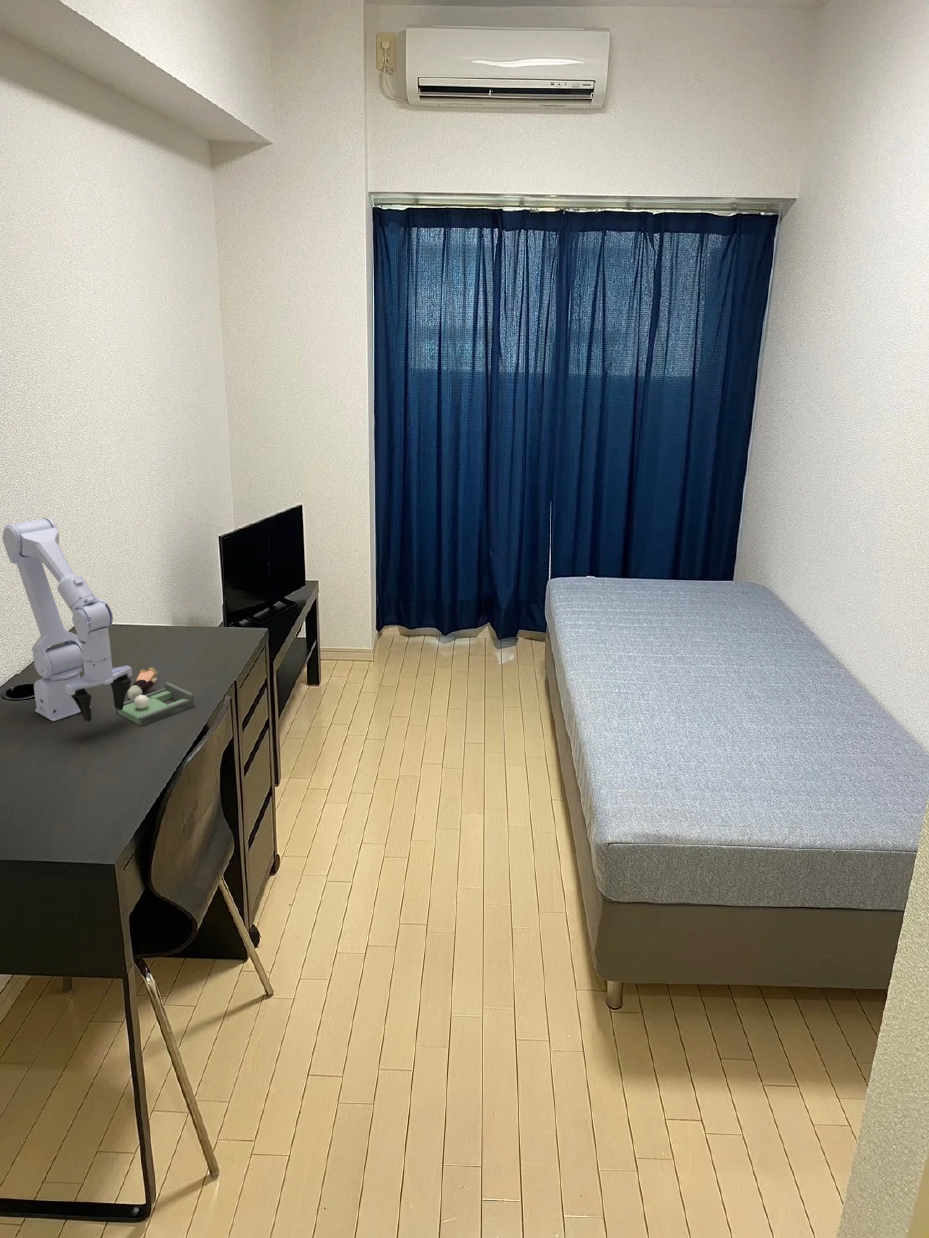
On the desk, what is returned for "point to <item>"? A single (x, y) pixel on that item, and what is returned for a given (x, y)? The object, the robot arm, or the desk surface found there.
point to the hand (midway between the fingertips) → (103, 714)
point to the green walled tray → (158, 705)
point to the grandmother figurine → (142, 683)
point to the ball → (141, 701)
